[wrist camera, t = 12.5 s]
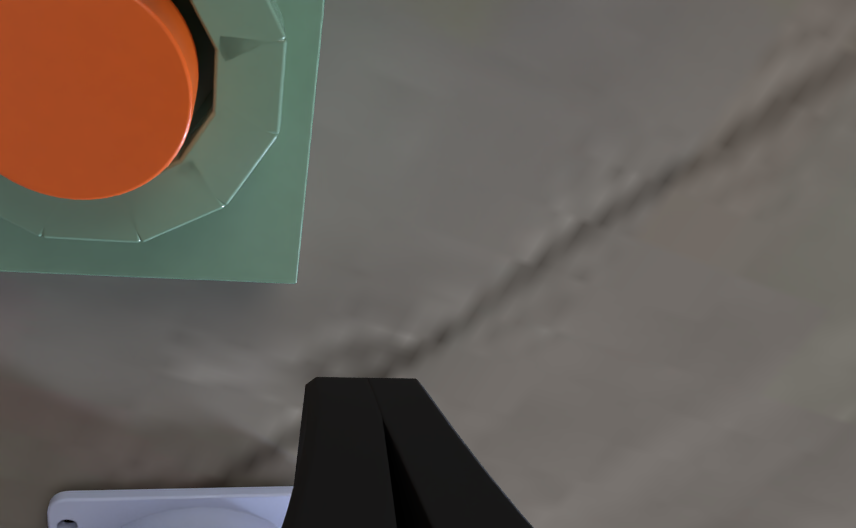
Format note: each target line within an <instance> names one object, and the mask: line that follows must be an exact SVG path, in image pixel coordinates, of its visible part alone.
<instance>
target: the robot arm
mask: <svg viewBox="0 0 856 528" xmlns="http://www.w3.org/2000/svg"><path fill="white" fill-rule="evenodd" d="M47 518H48V528H533V527H532V525H531V524H530V523H529V522H528V521H527V520H526V519H525V517H524V516H523V515H522V514H521V513H520V511H519V510H518V509H517V508H516V507H515V505H514V504H513V503H512V502H511V501H510V499H509V498H508V497H507V496H506V495H505V493H504V492H503V491H502V490H501V488H500V487H499V486H498V485H497V484H496V482H495V481H494V480H493V479H492V478H491V476H490V475H489V474H488V473H487V471H486V470H485V469H484V467H483V466H482V465H481V464H480V462H479V461H478V460H477V459H476V457H475V456H474V455H473V453H472V452H471V451H470V449H469V448H468V447H467V445H466V444H465V443H464V442H463V440H462V439H461V438H460V436H459V435H458V434H457V432H456V431H455V430H454V428H453V427H452V426H451V424H450V423H449V422H448V420H447V419H446V417H445V416H444V415H443V413H442V412H441V411H440V409H439V408H438V406H437V405H436V404H435V402H434V401H433V400H432V398H431V397H430V395H429V394H428V393H427V391H426V390H425V389H424V387H423V386H422V385H421V384H420V383H419V381H418V380H417V379H404V378H339V377H316V378H314V379H313V380H312V381H310V382H309V383H307V384H306V386H305V395H304V403H303V412H302V420H301V429H300V438H299V446H298V455H297V463H296V472H295V480H294V486H270V487H223V488H175V489H128V490H80V491H63V492H59V493H57V494H55V495H54V496H53V497H52V498H51V499H50V503H49V506H48V510H47ZM63 520H72V521H74V522H71V523H69V522H64V521H63Z"/></svg>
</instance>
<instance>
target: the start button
mask: <svg viewBox="0 0 856 528" xmlns="http://www.w3.org/2000/svg"><path fill="white" fill-rule="evenodd" d="M198 81H199V62H198V56H197V50H196V46H195V43H194V40H193V37H192V34H191V32H190V29H189V27H188V25H187V23H186V21H185V19H184V18H183V16H182V14H181V13H180V11H179V9H178V8H177V7H176V5H175V4H174V3H173V2H172V0H0V174H1V175H2V176H4V177H6V178H7V179H9V180H11V181H12V182H14V183H16V184H19V185H21V186H23V187H25V188H27V189H30V190H33V191H36V192H38V193H41V194H45V195H49V196H54V197H58V198H65V199H74V200H92V199H102V198H108V197H113V196H117V195H121V194H124V193H127V192H129V191H132V190H135V189H137V188H138V187H140V186H142V185H144V184H146V183H148V182H149V181H151V180H152V179H153V178H155V177H156V176H158V175H159V174H160V173H161V172H162V171H163V170H164V169H165V168H166V167H168V166H169V164H170V163H171V162H172V161H173V159H174V158H175V157H176V156H177V154H178V152H179V151H180V149H181V147H182V146H183V144H184V142H185V139H186V137H187V134H188V132H189V128H190V124H191V120H192V116H193V111H194V105H195V100H196V95H197V90H198Z"/></svg>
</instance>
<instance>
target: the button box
mask: <svg viewBox="0 0 856 528" xmlns="http://www.w3.org/2000/svg"><path fill="white" fill-rule="evenodd" d="M172 2H173V3H174V4H175V5H176V7H177V8H178V9H179V11H180V13H181V14H182V16H183V18H184V19H185V21H186V23H187V25H188V27H189V29H190V32H191V34H192V37H193V40H194V43H195V46H196V50H197V56H198V62H199V81H198V90H197V95H196V100H195V105H194V111H193V116H192V120H191V124H190V128H189V132H188V134H187V137H186V139H185V142H184V144H183V146H182V147H181V149H180V151H179V152H178V154H177V156H176V157H175V158H174V159H173V161H172V162H171V163H170V164H169V166H168V167H166V168H165V169H164V170H163V171H162V172H161V173H160V174H159V175H158V176H156V177H155V178H153V179H152V180H151V181H149V182H148V183H146V184H144V185H142V186H140V187H138V188H137V189H135V190H132V191H129V192H127V193H124V194H121V195H117V196H113V197H108V198H102V199H92V200H74V199H65V198H58V197H54V196H49V195H45V194H41V193H38V192H36V191H33V190H30V189H27V188H25V187H23V186H21V185H19V184H16V183H14V182H12V181H11V180H9V179H7V178H6V177H4V176H2V175H1V174H0V271H4V272H28V273H51V274H75V275H98V276H122V277H145V278H169V279H192V280H216V281H239V282H263V283H286V284H296V282H297V276H298V266H299V256H300V246H301V235H302V225H303V215H304V205H305V195H306V185H307V175H308V165H309V155H310V145H311V135H312V125H313V114H314V104H315V94H316V84H317V74H318V64H319V54H320V44H321V34H322V24H323V14H324V4H325V0H172Z"/></svg>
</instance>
